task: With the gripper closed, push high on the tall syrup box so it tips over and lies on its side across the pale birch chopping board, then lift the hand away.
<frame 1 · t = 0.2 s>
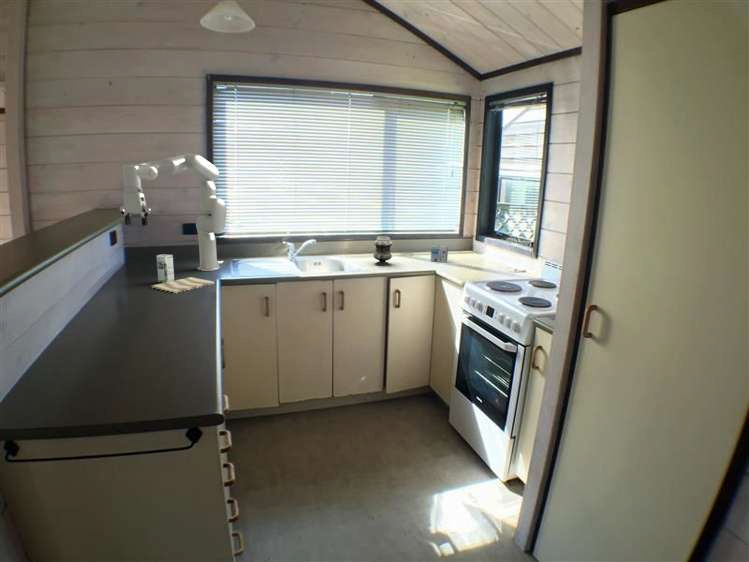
hand: (136, 225, 239), 30 cm above the worktop, tool pointing down, fingers open, 9 cm apart
chopping board: (183, 285, 243), on the worktop
light bulb box: (438, 261, 326), on the worktop
apothecary jar: (382, 264, 311), on the worktop
syrup box: (166, 282, 250), on the worktop
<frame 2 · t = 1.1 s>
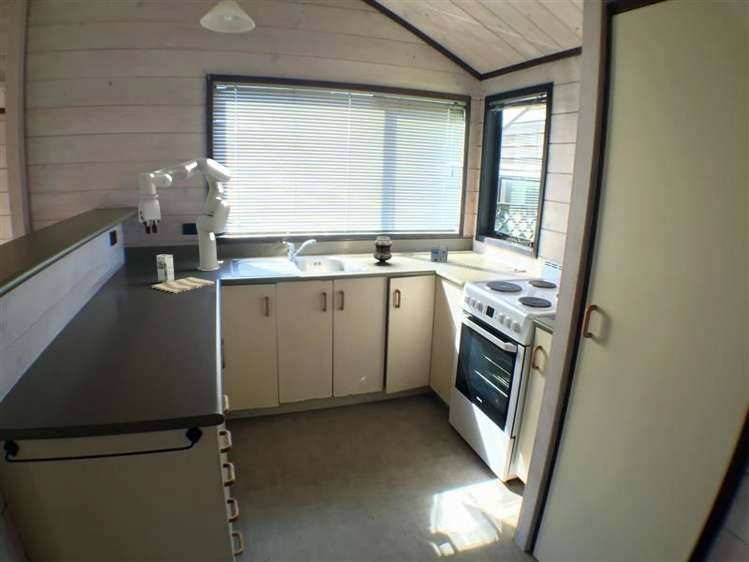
hand: (151, 232, 248), 25 cm above the worktop, tool pointing down, fingers open, 3 cm apart
nothing on the worktop moved.
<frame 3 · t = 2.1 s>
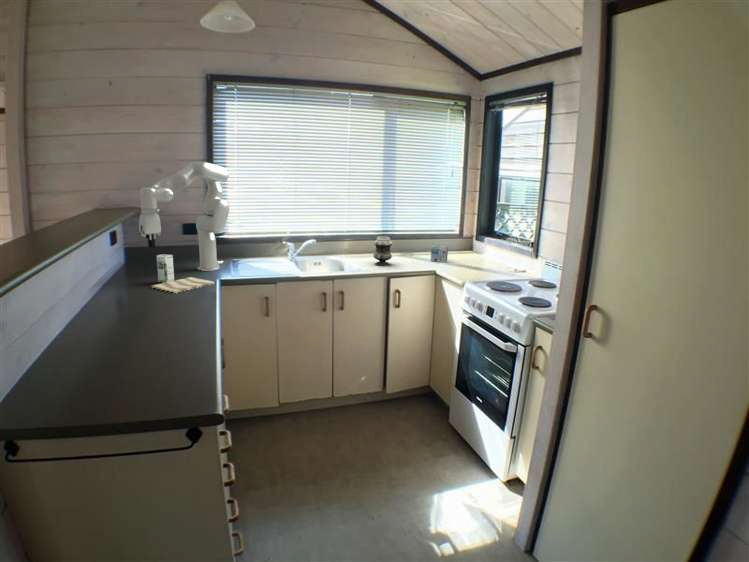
hand: (151, 246, 250), 18 cm above the worktop, tool pointing down, fingers closed
nothing on the worktop moved.
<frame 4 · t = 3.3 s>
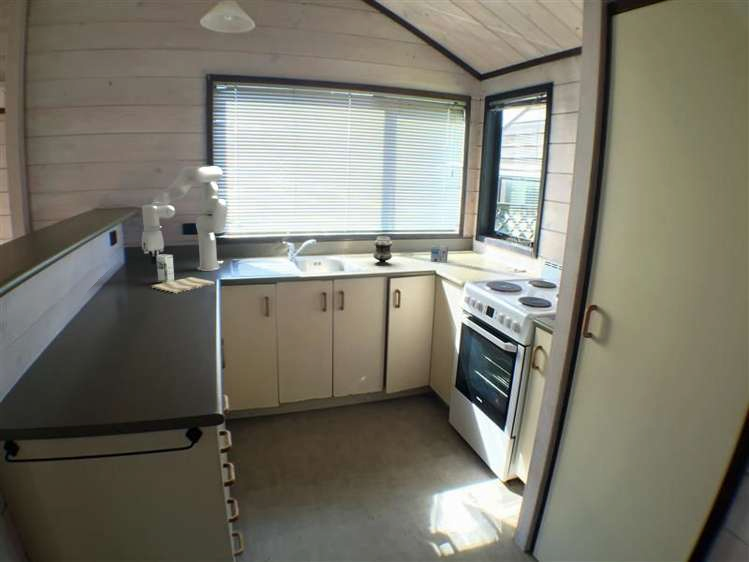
hand: (154, 263, 252), 9 cm above the worktop, tool pointing down, fingers closed
nothing on the worktop moved.
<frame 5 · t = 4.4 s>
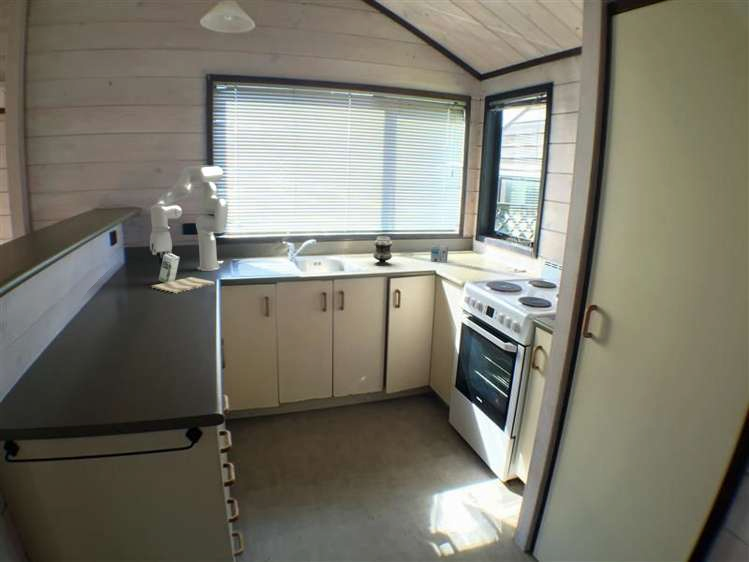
hand: (162, 264, 248), 9 cm above the worktop, tool pointing down, fingers closed
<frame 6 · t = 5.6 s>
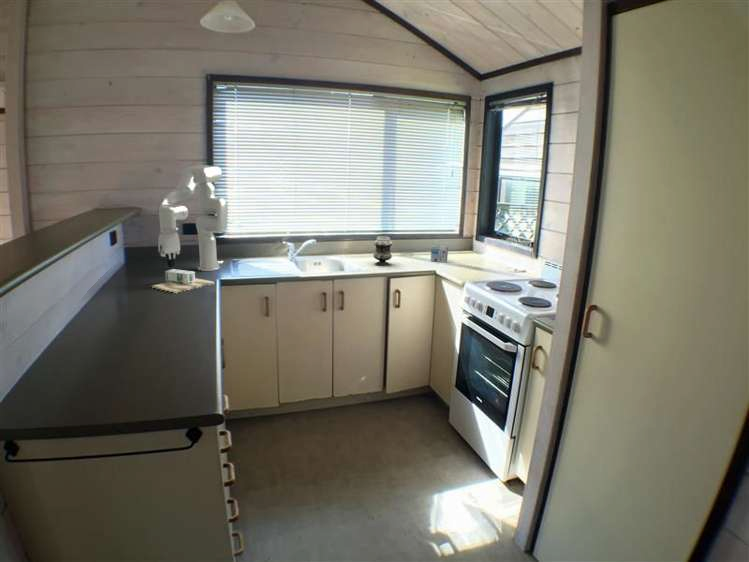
hand: (171, 266, 245), 9 cm above the worktop, tool pointing down, fingers closed
syrup box: (169, 275, 248), point 4 cm above the worktop, touching chopping board
everything else where it was.
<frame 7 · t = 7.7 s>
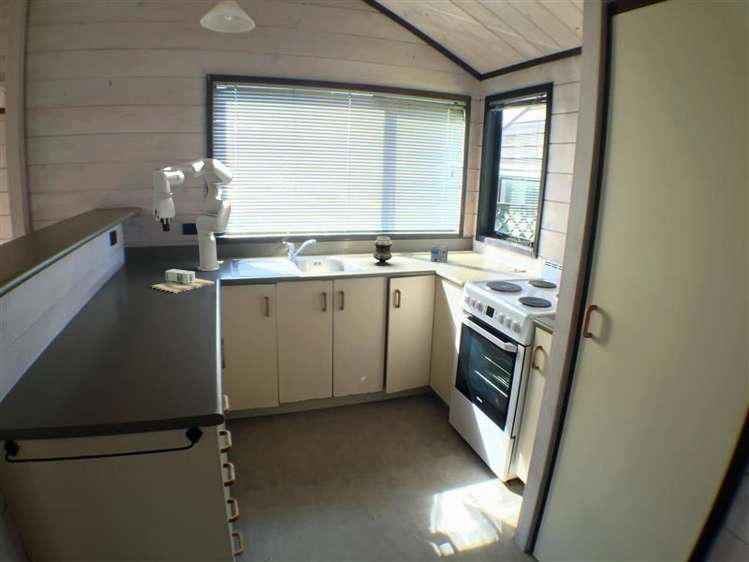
hand: (166, 231, 248), 26 cm above the worktop, tool pointing down, fingers closed
nothing on the worktop moved.
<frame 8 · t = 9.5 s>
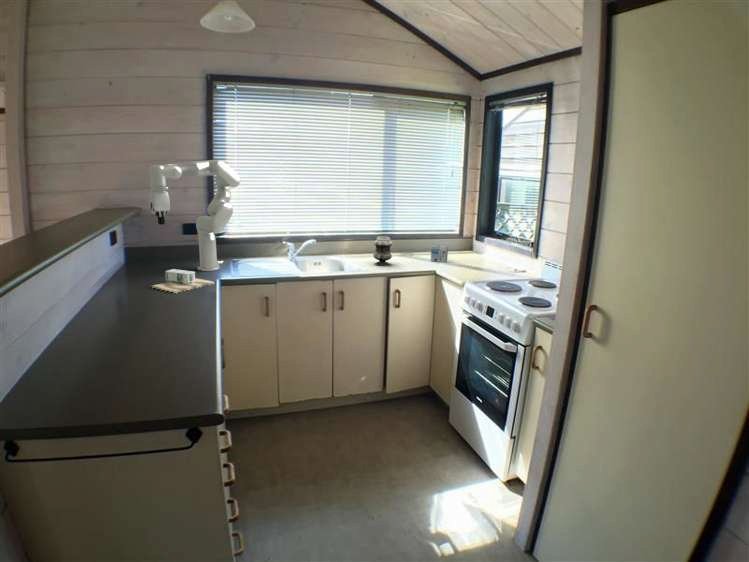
hand: (161, 224, 254), 29 cm above the worktop, tool pointing down, fingers closed
nothing on the worktop moved.
at the end: syrup box tilted 90°; syrup box touching chopping board; syrup box inside the target area (2.9 cm from its centre), point 4.1 cm above the worktop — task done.
